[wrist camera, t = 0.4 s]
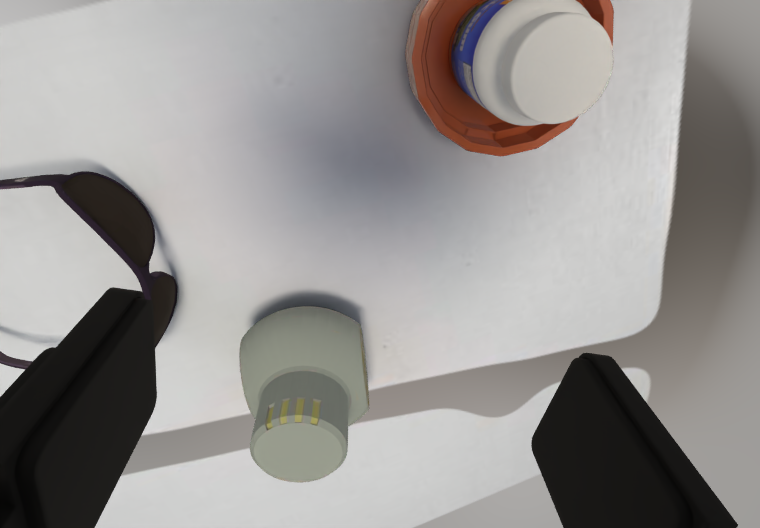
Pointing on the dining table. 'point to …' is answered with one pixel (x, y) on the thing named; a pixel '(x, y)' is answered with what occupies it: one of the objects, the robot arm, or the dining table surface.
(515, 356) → the dining table surface
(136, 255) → the sunglasses
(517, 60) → the pill bottle
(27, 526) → the robot arm
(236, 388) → the dining table surface
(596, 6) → the bowl
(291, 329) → the air freshener
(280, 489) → the dining table surface
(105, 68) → the dining table surface
